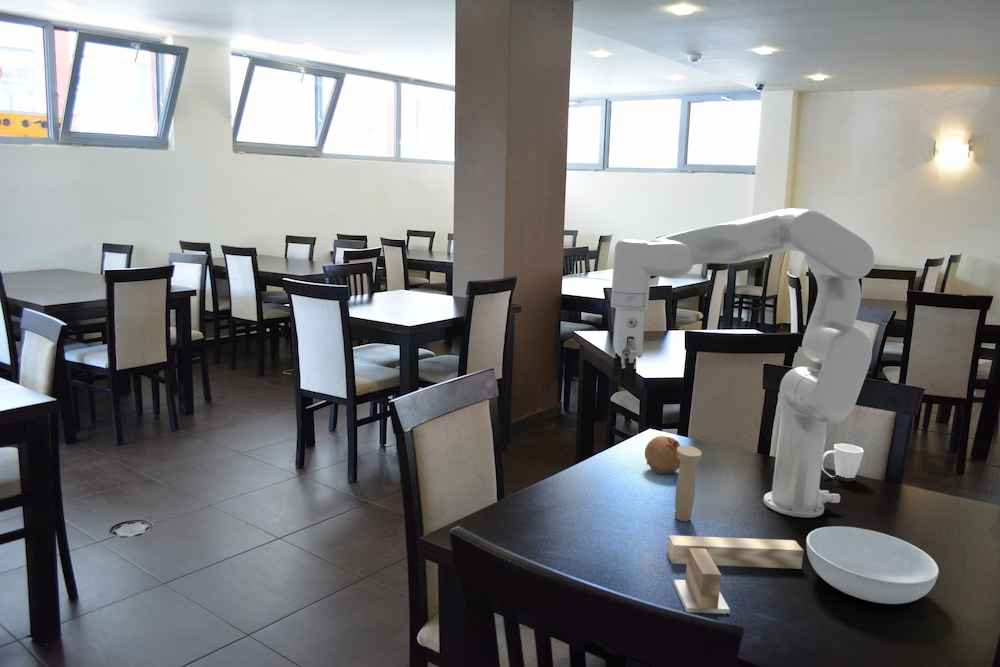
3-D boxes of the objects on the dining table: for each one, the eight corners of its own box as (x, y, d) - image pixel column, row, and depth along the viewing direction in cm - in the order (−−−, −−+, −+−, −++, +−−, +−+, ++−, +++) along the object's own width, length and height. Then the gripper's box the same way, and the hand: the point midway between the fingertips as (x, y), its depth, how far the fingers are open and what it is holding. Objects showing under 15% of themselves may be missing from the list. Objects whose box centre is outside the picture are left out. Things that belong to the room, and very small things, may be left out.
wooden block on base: (713, 585, 130) (717, 549, 128) (729, 613, 121) (733, 575, 120) (673, 583, 130) (676, 547, 128) (686, 612, 121) (690, 573, 119)
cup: (865, 484, 182) (870, 453, 180) (825, 483, 181) (829, 451, 180) (851, 474, 189) (855, 443, 187) (812, 472, 188) (816, 442, 187)
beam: (792, 560, 141) (795, 540, 141) (801, 570, 137) (803, 550, 137) (666, 554, 141) (668, 535, 140) (671, 565, 137) (673, 545, 136)
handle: (690, 513, 160) (697, 446, 157) (697, 526, 154) (704, 456, 151) (668, 511, 160) (674, 445, 157) (674, 524, 154) (680, 455, 151)
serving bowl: (873, 631, 118) (879, 590, 117) (776, 569, 137) (781, 534, 136) (961, 607, 126) (967, 570, 125) (858, 552, 145) (863, 519, 144)
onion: (676, 486, 183) (696, 456, 178) (643, 477, 181) (662, 447, 176) (666, 460, 191) (684, 431, 186) (633, 452, 189) (652, 422, 184)
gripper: (655, 307, 144) (648, 393, 147) (640, 295, 161) (634, 372, 164) (617, 305, 144) (610, 391, 147) (606, 294, 161) (600, 371, 164)
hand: (623, 381), depth 155 cm, fingers open, 9 cm apart
